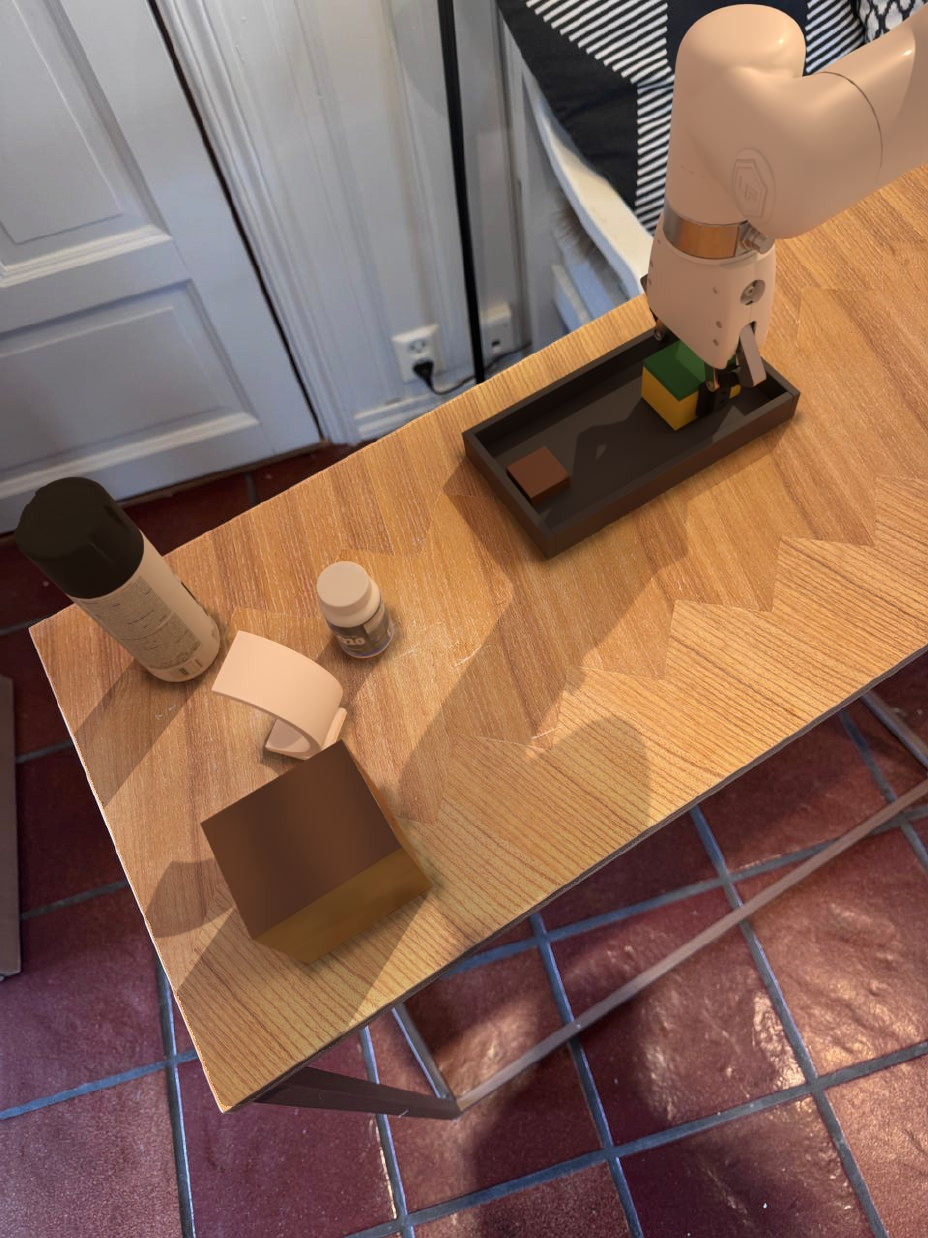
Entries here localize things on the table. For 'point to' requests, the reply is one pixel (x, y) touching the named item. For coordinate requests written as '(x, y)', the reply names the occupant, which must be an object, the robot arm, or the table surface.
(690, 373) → the sponge
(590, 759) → the table surface
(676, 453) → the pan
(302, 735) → the cream curved piece
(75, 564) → the spray can
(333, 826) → the brown wooden cube
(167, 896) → the table surface
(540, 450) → the reddish brown block
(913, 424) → the table surface
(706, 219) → the robot arm
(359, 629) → the pill bottle
